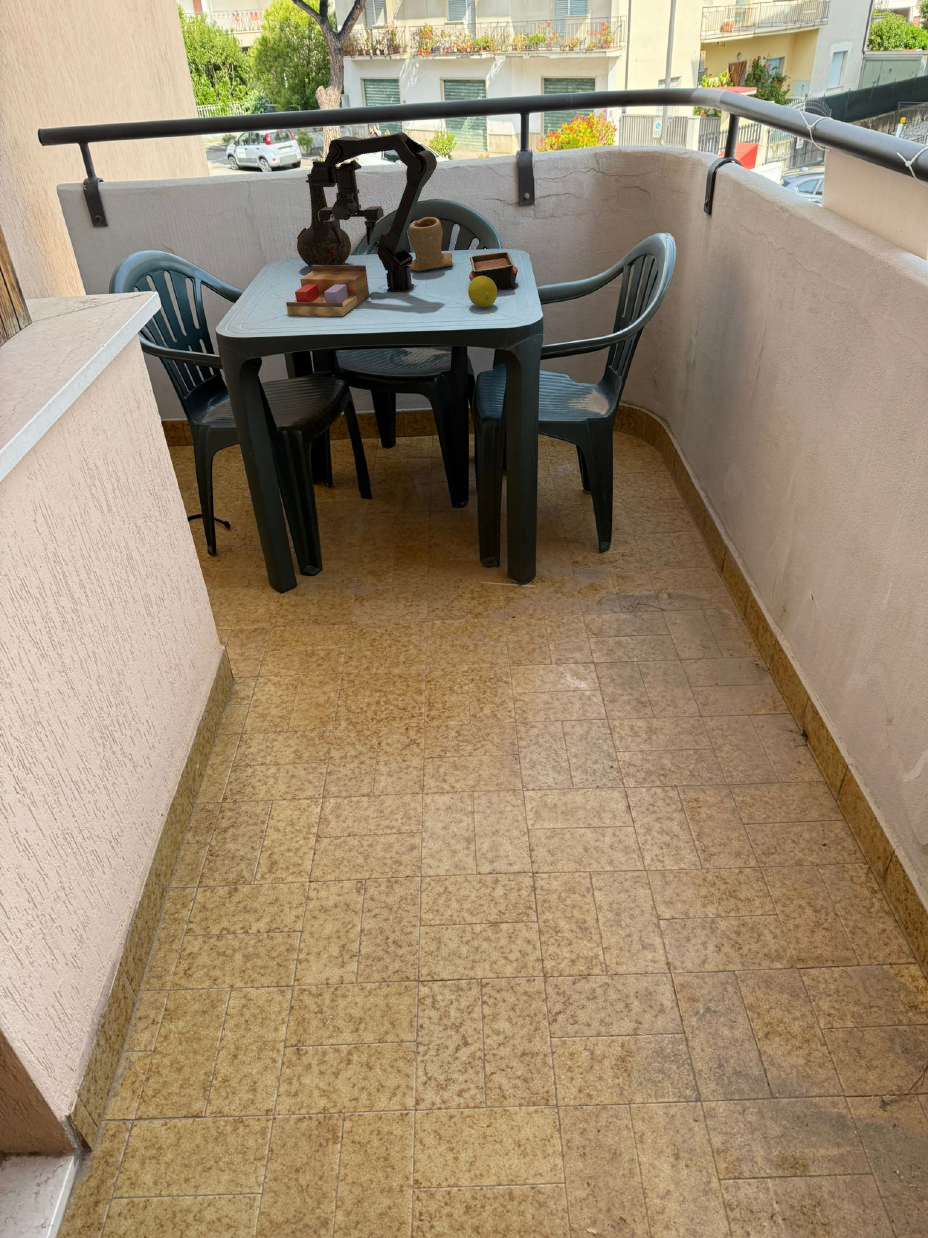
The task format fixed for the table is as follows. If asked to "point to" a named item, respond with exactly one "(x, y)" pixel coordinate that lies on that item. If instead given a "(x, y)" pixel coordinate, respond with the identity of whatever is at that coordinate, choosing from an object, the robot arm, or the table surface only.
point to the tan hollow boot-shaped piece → (428, 245)
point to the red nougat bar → (307, 293)
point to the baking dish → (495, 269)
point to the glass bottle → (321, 236)
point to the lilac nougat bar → (336, 294)
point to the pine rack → (326, 279)
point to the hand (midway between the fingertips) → (354, 244)
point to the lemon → (482, 291)
